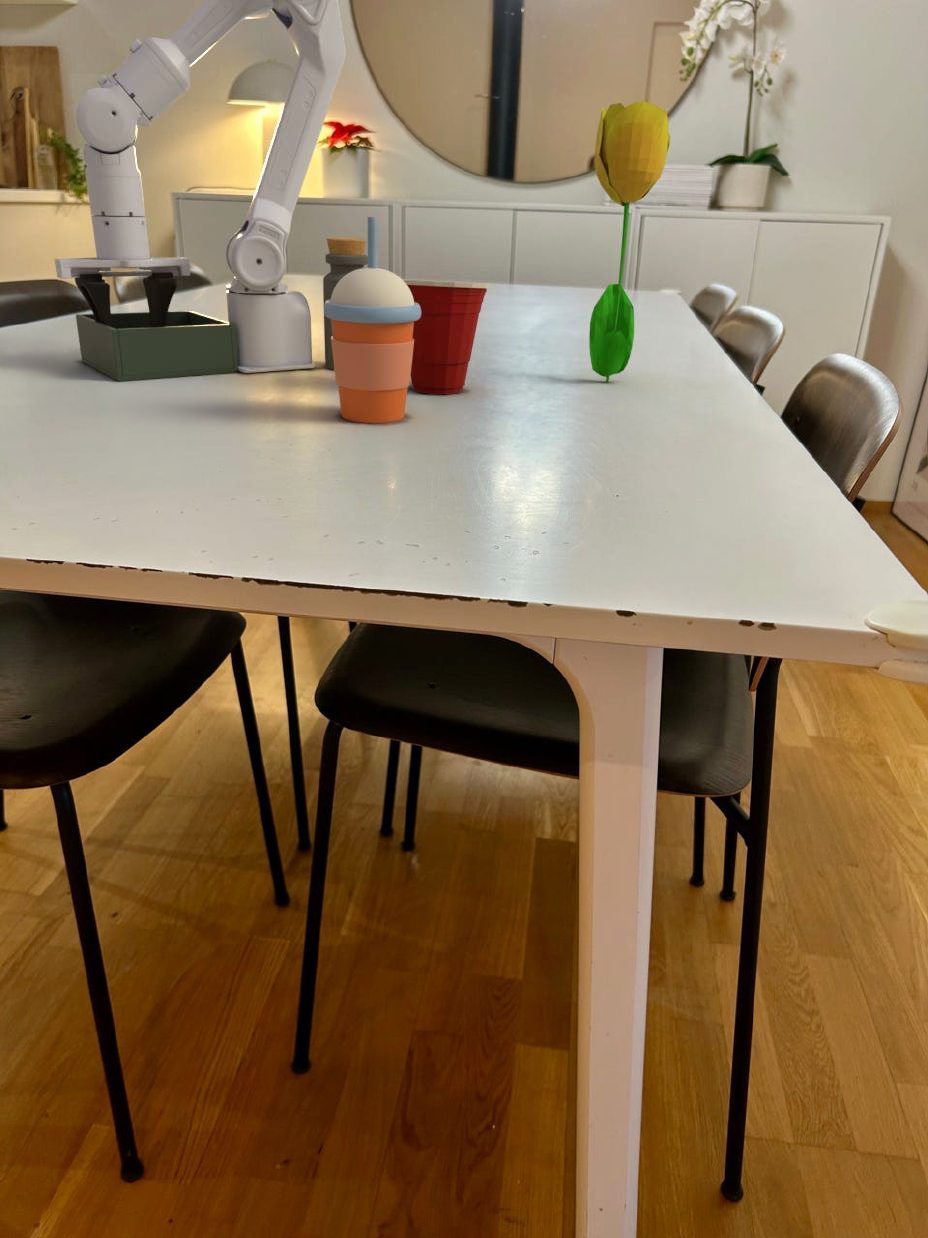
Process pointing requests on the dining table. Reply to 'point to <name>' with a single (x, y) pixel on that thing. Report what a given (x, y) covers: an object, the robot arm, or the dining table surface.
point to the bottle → (340, 277)
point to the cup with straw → (372, 340)
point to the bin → (158, 345)
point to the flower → (627, 174)
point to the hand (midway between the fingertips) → (134, 342)
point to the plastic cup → (444, 333)
